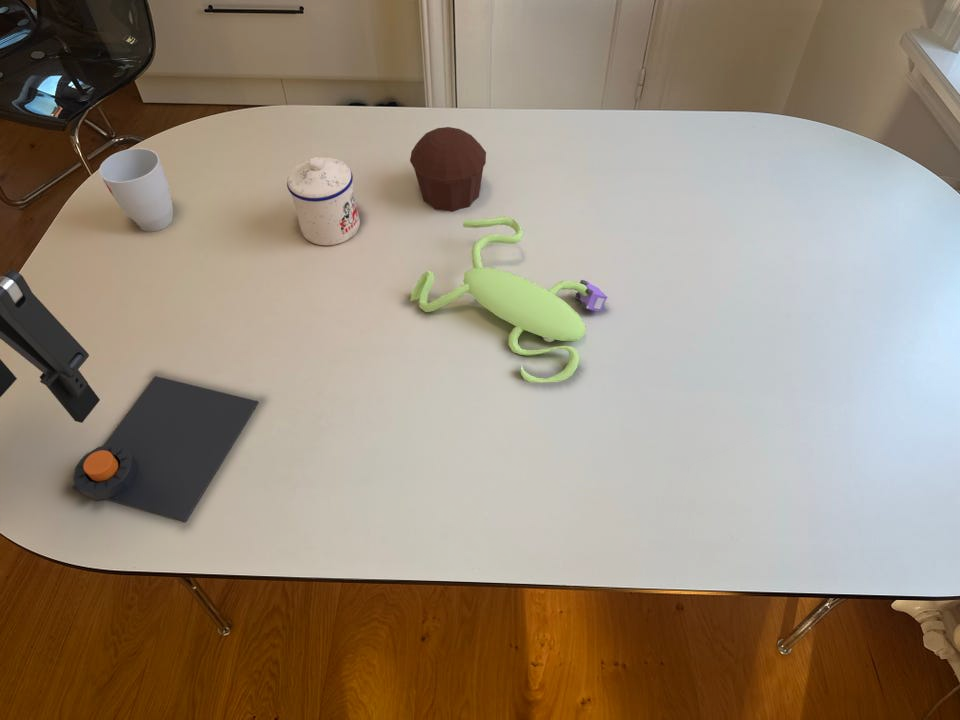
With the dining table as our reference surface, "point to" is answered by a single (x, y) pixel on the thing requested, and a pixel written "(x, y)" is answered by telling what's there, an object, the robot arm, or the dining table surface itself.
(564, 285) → the figurine
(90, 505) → the dining table surface
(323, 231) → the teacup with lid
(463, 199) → the muffin
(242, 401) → the dark grey flat slab
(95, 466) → the button
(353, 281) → the dining table surface
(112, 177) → the cup
